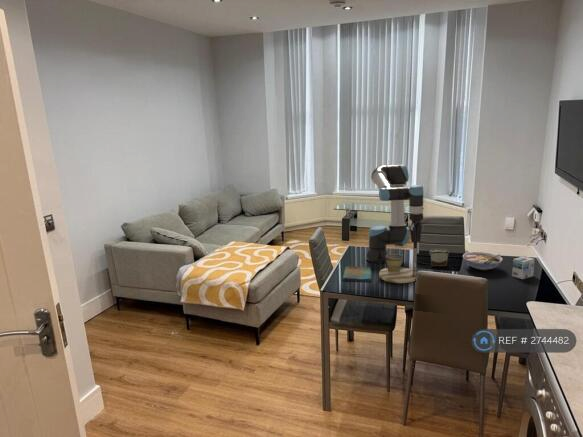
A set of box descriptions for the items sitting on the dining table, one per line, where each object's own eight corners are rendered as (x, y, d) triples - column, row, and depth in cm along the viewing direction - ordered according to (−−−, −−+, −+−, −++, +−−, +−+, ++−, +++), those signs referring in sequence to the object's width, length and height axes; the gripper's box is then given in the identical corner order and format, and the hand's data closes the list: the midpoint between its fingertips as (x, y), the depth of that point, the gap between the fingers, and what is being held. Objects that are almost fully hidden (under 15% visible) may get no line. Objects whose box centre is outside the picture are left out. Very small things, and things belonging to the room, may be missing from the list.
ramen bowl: (471, 259, 267) (471, 248, 265) (508, 267, 251) (509, 254, 249) (454, 269, 250) (455, 257, 248) (493, 278, 234) (494, 264, 232)
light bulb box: (522, 279, 229) (523, 261, 227) (511, 276, 235) (512, 258, 233) (533, 276, 234) (535, 258, 232) (522, 272, 240) (524, 255, 238)
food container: (446, 262, 264) (446, 248, 262) (448, 265, 258) (449, 250, 256) (427, 262, 265) (427, 248, 263) (429, 265, 259) (429, 251, 257)
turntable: (372, 273, 244) (372, 243, 241) (402, 268, 252) (402, 239, 248) (393, 285, 224) (393, 253, 220) (425, 279, 232) (426, 247, 228)
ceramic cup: (395, 276, 233) (395, 259, 231) (381, 272, 240) (381, 256, 238) (408, 270, 241) (409, 255, 239) (394, 267, 248) (395, 251, 246)
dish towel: (342, 281, 239) (342, 277, 239) (344, 268, 262) (344, 265, 261) (371, 282, 236) (371, 278, 235) (371, 269, 258) (371, 265, 258)
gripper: (417, 215, 218) (417, 256, 223) (427, 211, 227) (426, 250, 232) (404, 214, 222) (405, 254, 227) (414, 210, 232) (414, 249, 237)
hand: (416, 252), depth 230 cm, fingers closed
